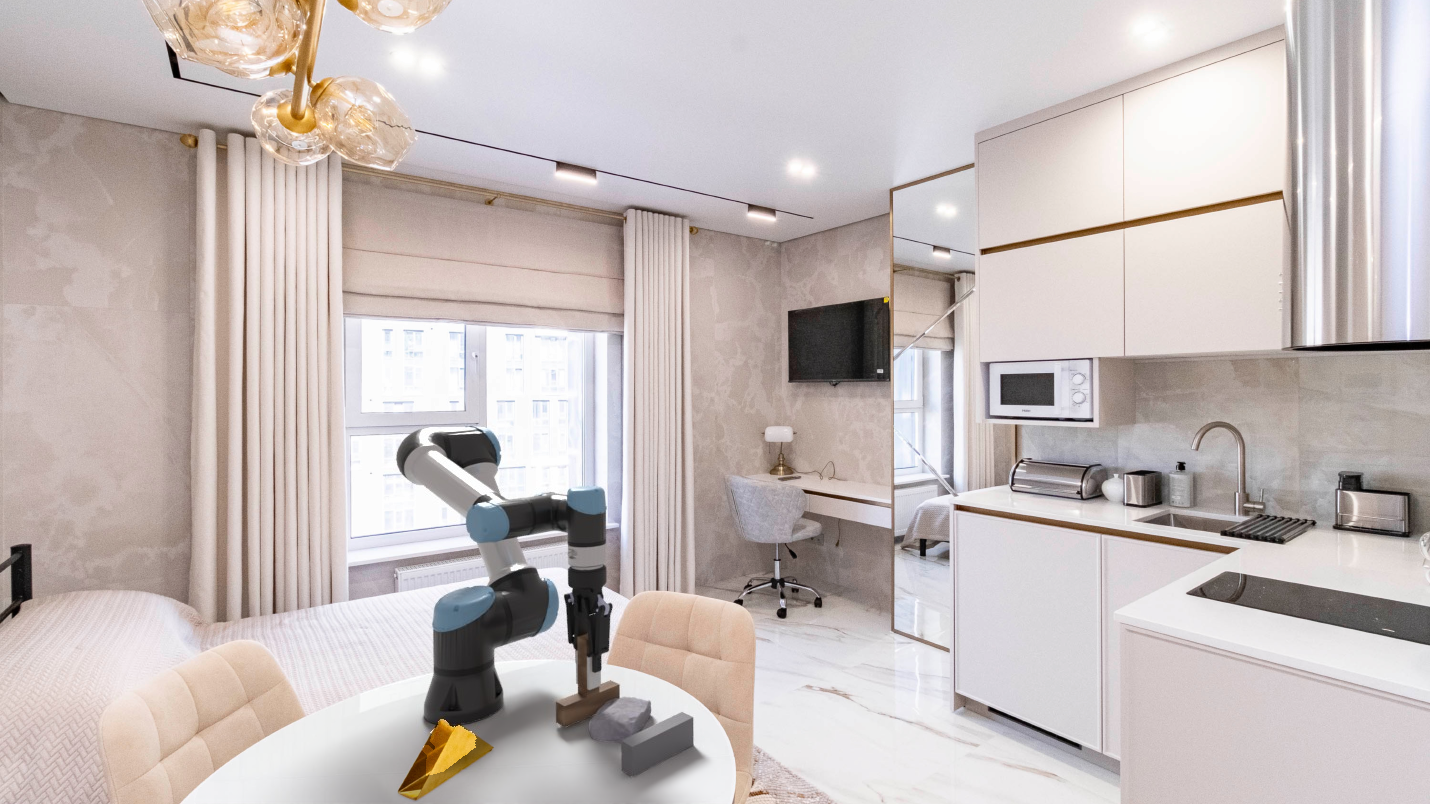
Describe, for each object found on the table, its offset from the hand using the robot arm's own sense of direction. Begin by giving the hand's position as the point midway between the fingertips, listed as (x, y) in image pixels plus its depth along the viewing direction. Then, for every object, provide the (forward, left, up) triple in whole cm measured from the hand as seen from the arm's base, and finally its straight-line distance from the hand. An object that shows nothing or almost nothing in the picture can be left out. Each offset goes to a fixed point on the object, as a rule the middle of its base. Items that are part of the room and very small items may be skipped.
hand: (588, 684), depth 127 cm
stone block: (+7, +2, -7) cm, 10 cm away
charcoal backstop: (+21, 0, -7) cm, 22 cm away
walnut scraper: (0, 0, -6) cm, 6 cm away
